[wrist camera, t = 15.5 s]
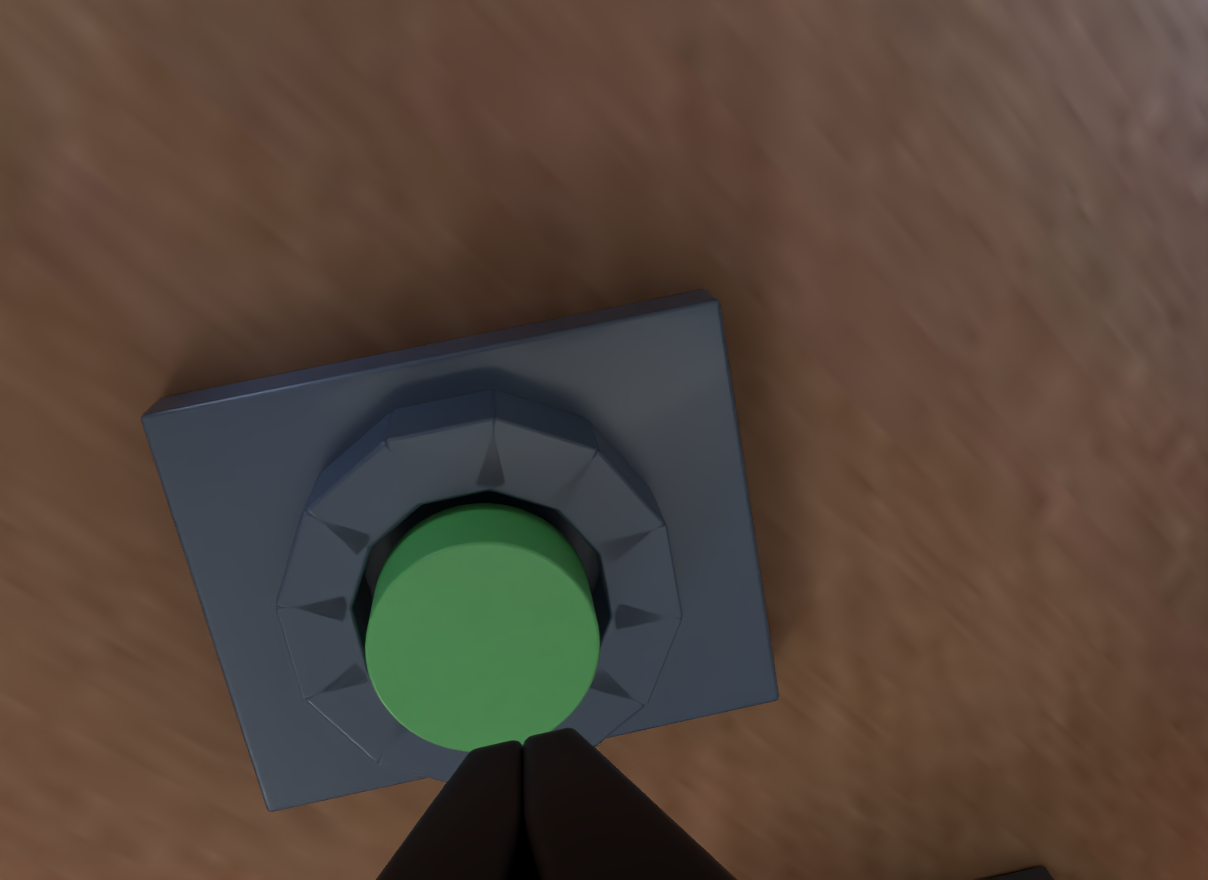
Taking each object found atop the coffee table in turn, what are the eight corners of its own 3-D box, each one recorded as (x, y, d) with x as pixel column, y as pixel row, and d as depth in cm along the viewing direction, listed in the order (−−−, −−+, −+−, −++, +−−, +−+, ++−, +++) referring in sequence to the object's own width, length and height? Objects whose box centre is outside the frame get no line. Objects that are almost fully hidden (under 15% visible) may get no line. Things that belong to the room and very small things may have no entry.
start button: (568, 481, 18) (577, 519, 17) (606, 673, 20) (619, 726, 18) (351, 526, 18) (338, 569, 17) (402, 717, 19) (395, 775, 18)
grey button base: (706, 287, 20) (744, 318, 17) (765, 671, 23) (807, 753, 20) (156, 397, 20) (104, 448, 17) (278, 778, 22) (249, 877, 19)
